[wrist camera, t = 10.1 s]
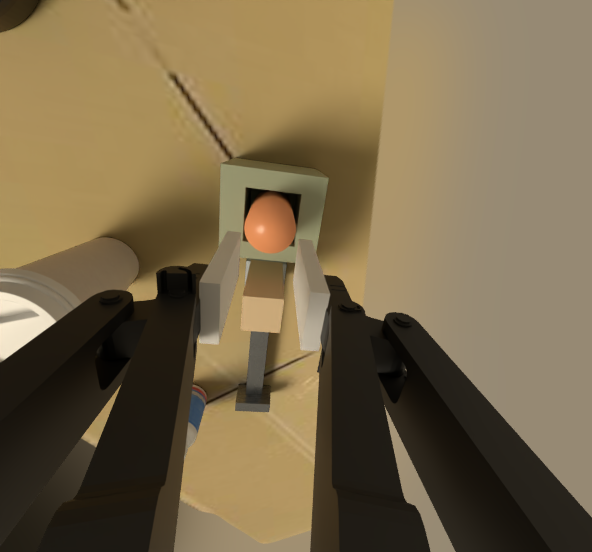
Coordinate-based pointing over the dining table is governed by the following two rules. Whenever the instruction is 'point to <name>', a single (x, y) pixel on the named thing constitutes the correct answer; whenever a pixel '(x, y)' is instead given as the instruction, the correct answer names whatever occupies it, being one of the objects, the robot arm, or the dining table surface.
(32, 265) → the coffee cup
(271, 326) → the carriage
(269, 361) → the dining table surface
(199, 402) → the pill bottle
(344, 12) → the dining table surface
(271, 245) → the orange rounded piece
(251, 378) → the rail
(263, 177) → the green square holder
